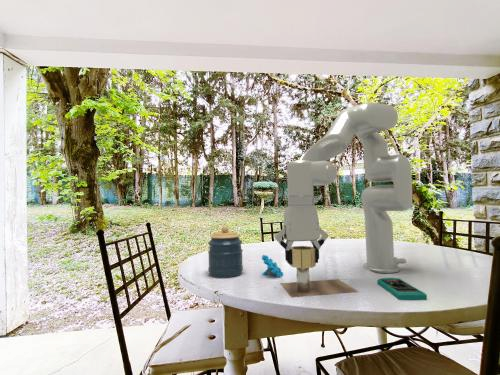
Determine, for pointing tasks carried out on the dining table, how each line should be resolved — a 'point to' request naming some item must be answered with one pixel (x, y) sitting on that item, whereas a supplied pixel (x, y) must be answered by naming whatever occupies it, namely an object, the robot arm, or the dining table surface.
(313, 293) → the board
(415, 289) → the digital multimeter
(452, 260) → the dining table surface
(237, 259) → the canister
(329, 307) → the dining table surface
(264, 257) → the gear
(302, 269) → the piston post
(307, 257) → the ring
